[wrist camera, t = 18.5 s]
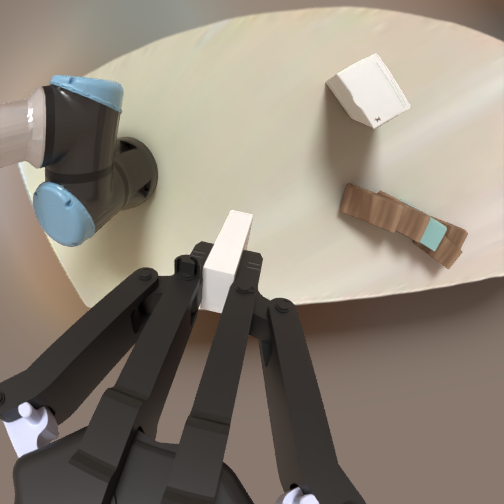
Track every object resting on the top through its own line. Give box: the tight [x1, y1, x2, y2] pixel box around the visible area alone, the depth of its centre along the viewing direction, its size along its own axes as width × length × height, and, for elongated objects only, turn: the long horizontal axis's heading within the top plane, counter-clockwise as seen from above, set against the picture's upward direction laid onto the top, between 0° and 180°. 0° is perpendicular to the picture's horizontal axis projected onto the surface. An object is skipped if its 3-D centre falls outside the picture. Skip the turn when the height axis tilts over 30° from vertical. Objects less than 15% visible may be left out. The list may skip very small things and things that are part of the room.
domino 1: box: [340, 184, 404, 233], centre depth 46 cm, size 2×5×11 cm
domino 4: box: [412, 235, 462, 269], centre depth 47 cm, size 2×5×11 cm
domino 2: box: [378, 191, 430, 243], centre depth 45 cm, size 2×5×11 cm
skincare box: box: [326, 53, 411, 129], centre depth 32 cm, size 8×7×16 cm
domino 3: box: [431, 216, 468, 249], centre depth 48 cm, size 2×5×11 cm
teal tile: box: [400, 199, 447, 251], centre depth 46 cm, size 2×5×11 cm
